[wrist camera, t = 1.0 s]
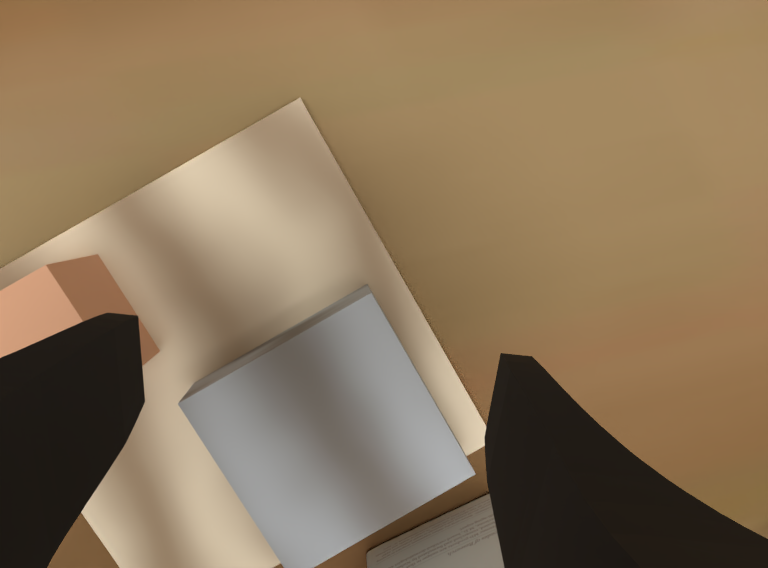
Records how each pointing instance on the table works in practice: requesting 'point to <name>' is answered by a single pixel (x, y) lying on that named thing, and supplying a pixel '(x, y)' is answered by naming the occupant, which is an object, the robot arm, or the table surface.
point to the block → (62, 303)
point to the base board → (222, 307)
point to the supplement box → (445, 542)
